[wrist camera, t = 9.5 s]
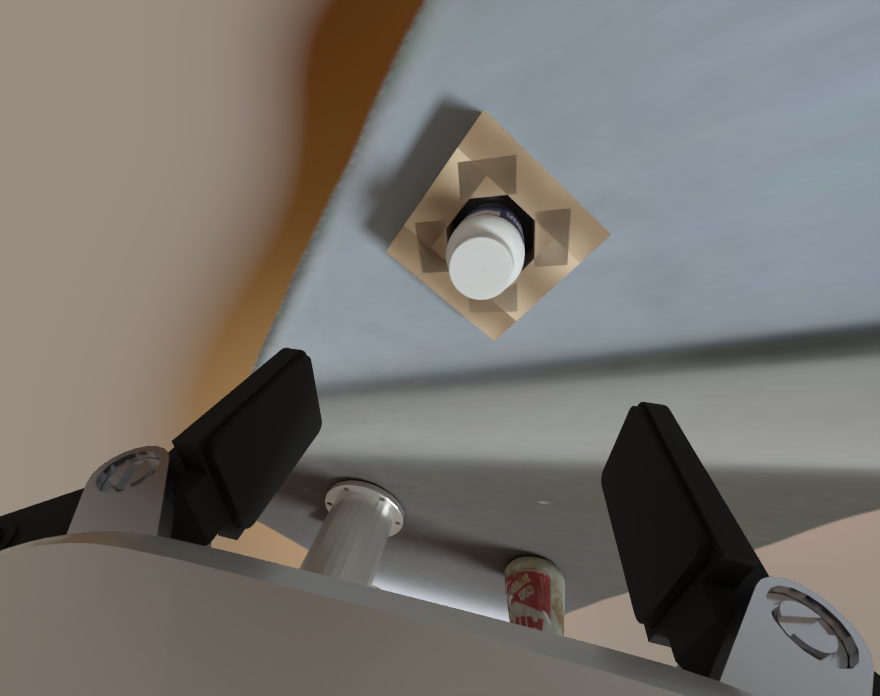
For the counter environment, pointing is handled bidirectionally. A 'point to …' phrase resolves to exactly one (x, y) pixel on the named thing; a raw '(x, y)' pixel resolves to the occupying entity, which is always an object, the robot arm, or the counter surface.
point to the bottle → (535, 594)
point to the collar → (527, 183)
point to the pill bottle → (486, 251)
